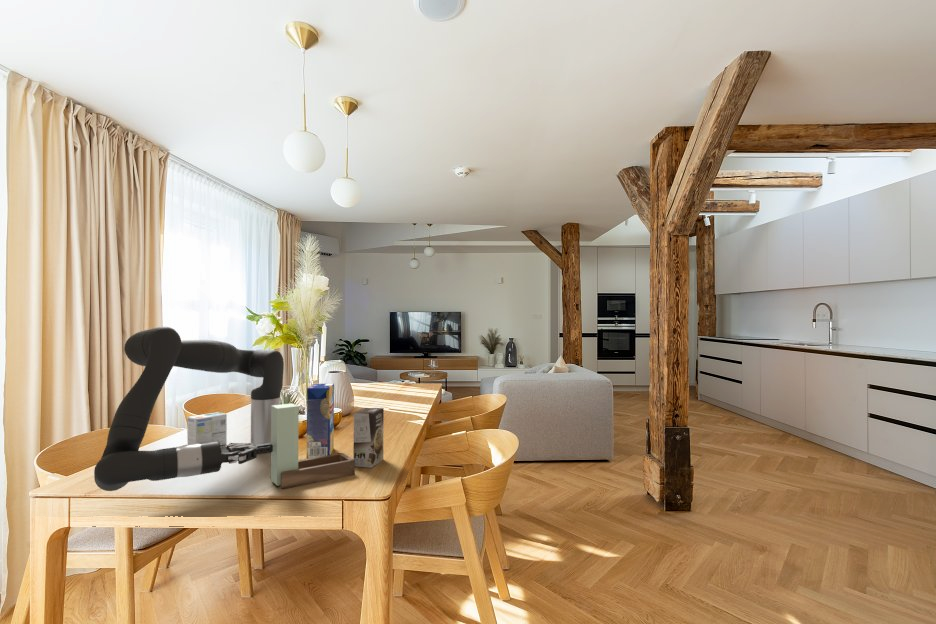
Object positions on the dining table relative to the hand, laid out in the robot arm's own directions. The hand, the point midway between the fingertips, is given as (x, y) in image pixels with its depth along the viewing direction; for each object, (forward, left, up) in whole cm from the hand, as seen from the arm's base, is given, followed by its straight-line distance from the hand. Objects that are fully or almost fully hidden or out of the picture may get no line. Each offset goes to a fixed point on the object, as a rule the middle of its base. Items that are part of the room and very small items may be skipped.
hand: (271, 447), depth 129 cm
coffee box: (-3, +29, -10) cm, 31 cm away
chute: (0, +11, -10) cm, 15 cm away
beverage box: (-22, +21, -10) cm, 32 cm away
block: (0, +3, -10) cm, 11 cm away
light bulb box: (-54, -7, -10) cm, 55 cm away
